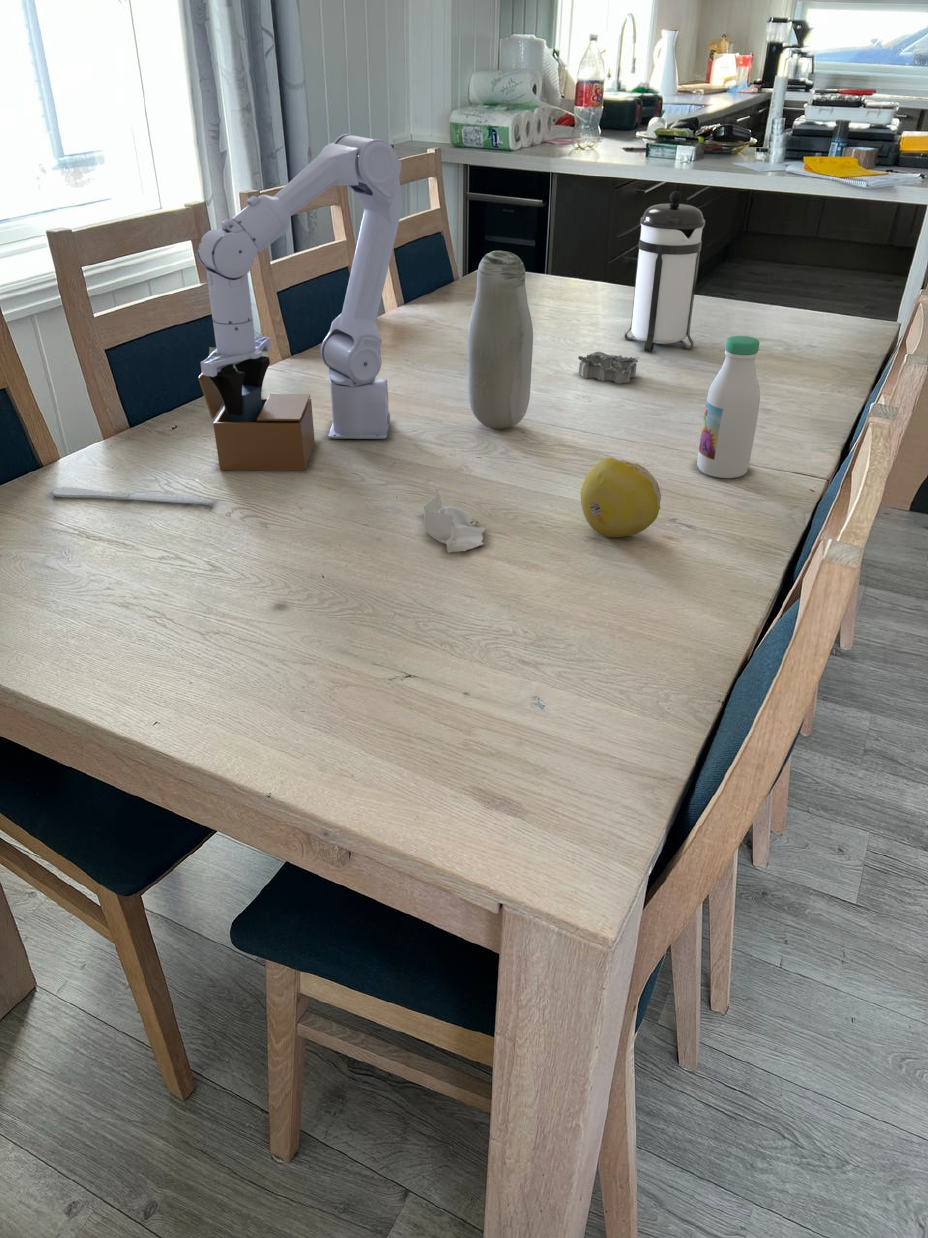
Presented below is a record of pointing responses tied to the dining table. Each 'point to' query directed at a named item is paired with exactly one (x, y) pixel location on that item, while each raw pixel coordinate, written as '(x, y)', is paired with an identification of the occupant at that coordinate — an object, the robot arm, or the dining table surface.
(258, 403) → the block
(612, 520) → the fruit
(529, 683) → the dining table surface
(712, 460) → the milk bottle
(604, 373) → the egg carton
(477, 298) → the grey bottle
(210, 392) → the flap
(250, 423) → the carton
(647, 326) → the coffee press
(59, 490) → the butter knife
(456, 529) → the fabric
